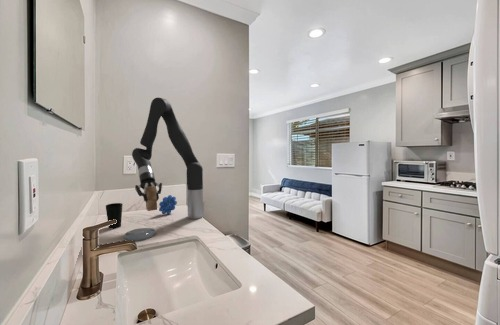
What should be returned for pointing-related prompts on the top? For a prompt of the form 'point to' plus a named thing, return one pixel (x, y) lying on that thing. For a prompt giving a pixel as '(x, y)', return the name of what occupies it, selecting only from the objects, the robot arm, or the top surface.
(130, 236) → the slate dish
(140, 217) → the top surface
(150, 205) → the walnut block
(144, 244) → the top surface
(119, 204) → the cup
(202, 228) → the top surface
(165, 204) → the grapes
